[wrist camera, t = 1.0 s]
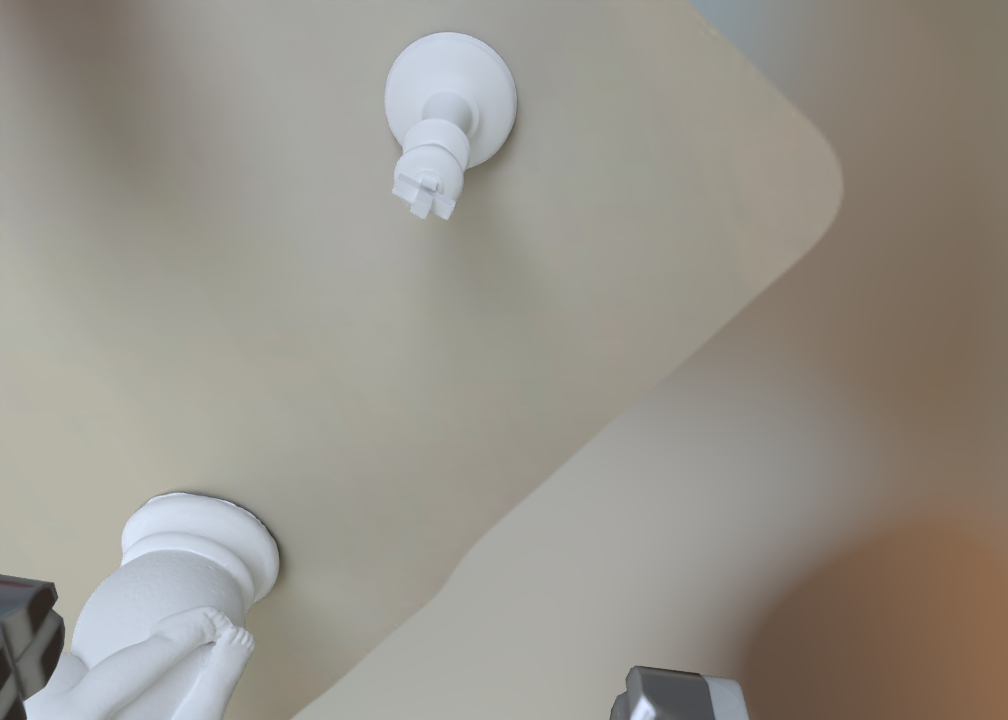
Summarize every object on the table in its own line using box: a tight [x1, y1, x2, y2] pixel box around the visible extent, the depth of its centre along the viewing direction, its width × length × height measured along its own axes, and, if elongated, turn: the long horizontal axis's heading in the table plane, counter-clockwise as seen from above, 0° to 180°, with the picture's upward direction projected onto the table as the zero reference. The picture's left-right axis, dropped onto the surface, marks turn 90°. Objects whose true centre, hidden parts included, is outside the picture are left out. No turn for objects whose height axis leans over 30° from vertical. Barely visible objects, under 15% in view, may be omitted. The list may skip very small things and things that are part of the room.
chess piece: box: [385, 32, 517, 220], centre depth 24 cm, size 5×5×10 cm
